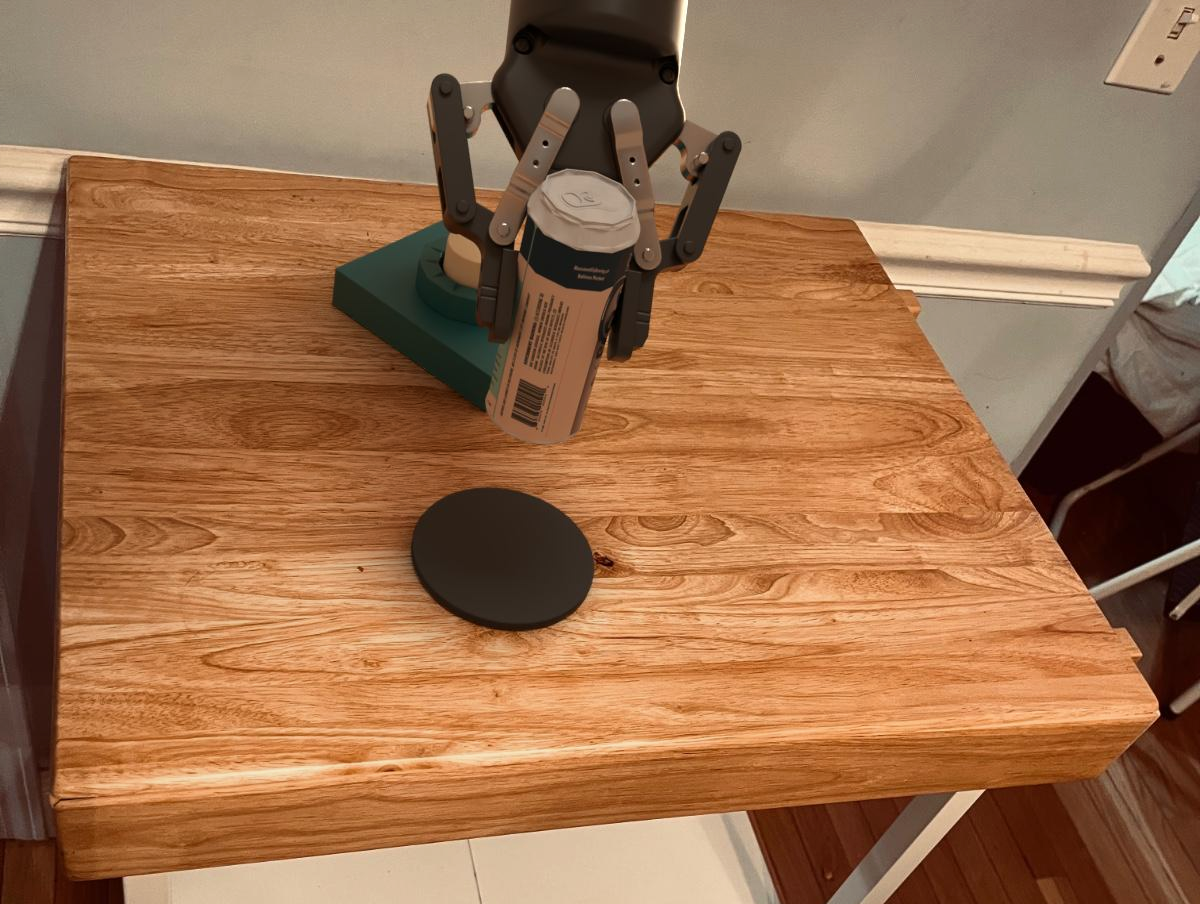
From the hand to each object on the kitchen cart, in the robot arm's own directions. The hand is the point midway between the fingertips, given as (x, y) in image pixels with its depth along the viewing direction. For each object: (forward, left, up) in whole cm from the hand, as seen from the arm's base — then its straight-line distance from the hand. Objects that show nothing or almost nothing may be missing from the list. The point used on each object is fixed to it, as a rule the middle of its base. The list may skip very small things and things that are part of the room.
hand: (559, 348), depth 52 cm
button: (-16, +16, -12) cm, 25 cm away
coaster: (-1, +2, -16) cm, 16 cm away
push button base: (-16, +16, -16) cm, 28 cm away
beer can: (-1, +1, -6) cm, 6 cm away
